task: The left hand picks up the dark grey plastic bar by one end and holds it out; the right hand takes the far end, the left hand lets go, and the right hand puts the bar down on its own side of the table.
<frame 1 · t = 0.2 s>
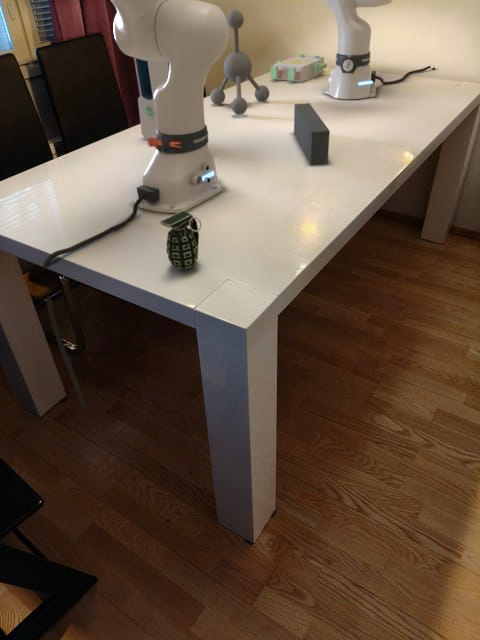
grey green flat case: (297, 76, 212), on the table
grenade: (185, 266, 91), on the table
electronic device: (163, 138, 153), on the table
molecular model: (244, 106, 178), on the table
bar: (309, 147, 140), on the table
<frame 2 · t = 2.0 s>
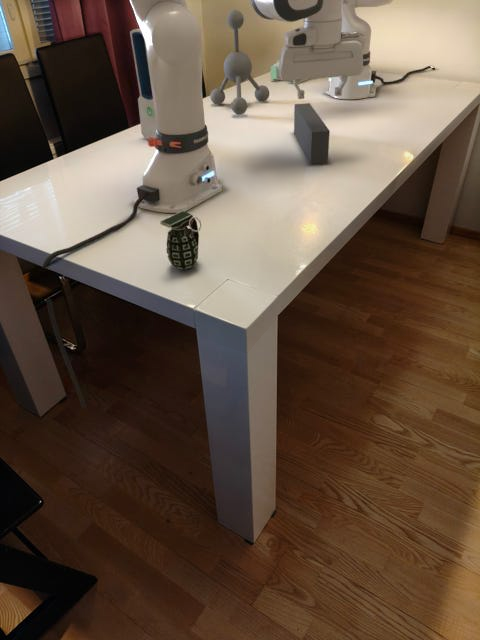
left hand: (319, 97, 122), 16 cm above the table, tool pointing down, fingers open, 8 cm apart
right hand: (329, 4, 141), 32 cm above the table, tool pointing down, fingers open, 8 cm apart
nothing on the table moved.
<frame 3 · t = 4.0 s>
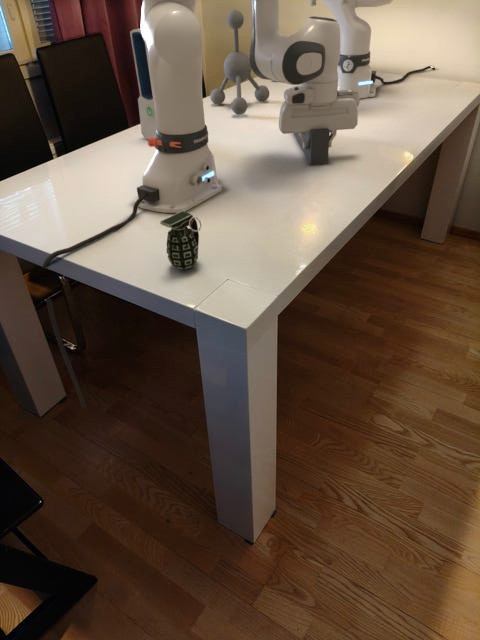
left hand: (316, 147, 130), 3 cm above the table, tool pointing down, fingers closed on bar, 4 cm apart
right hand: (329, 4, 141), 32 cm above the table, tool pointing down, fingers open, 8 cm apart
bar: (309, 147, 140), on the table, touching left hand
everything else where it was.
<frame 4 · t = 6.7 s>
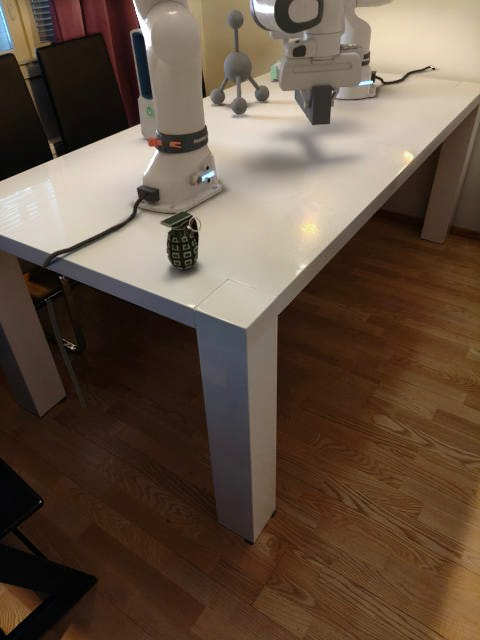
left hand: (318, 107, 124), 13 cm above the table, tool pointing down, fingers closed on bar, 4 cm apart
right hand: (306, 56, 135), 22 cm above the table, tool pointing down, fingers open, 8 cm apart
bar: (310, 110, 134), point 10 cm above the table, touching left hand
everything else where it was.
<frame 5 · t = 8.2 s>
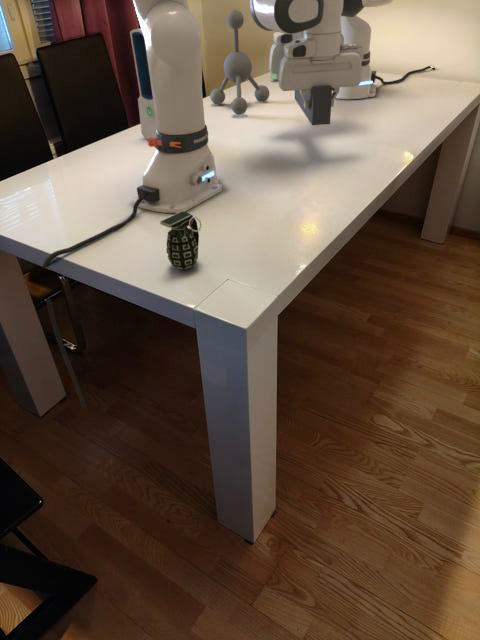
left hand: (318, 107, 124), 13 cm above the table, tool pointing down, fingers closed on bar, 4 cm apart
right hand: (304, 88, 139), 13 cm above the table, tool pointing down, fingers closed on bar, 4 cm apart
bar: (310, 110, 134), point 10 cm above the table, touching left hand, right hand
everything else where it was.
when the left hand's fingers open (13 cm above the table, at t = 9.2 s): bar stays where it is, held by the right hand.
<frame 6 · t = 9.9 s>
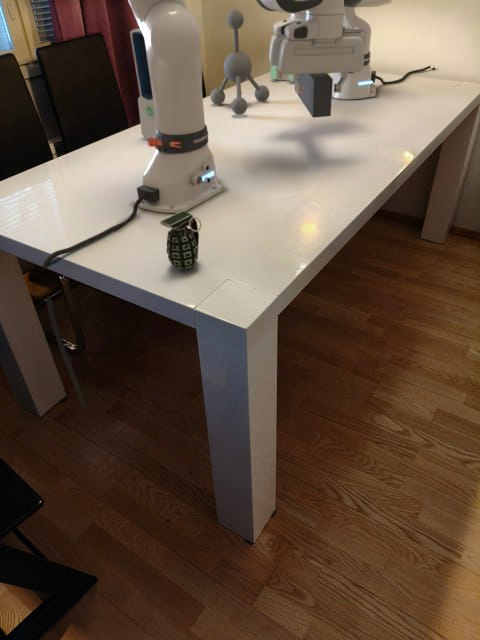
left hand: (318, 92, 120), 17 cm above the table, tool pointing down, fingers open, 8 cm apart
right hand: (305, 80, 138), 16 cm above the table, tool pointing down, fingers closed on bar, 4 cm apart
bar: (311, 102, 133), point 12 cm above the table, touching right hand
everything else where it was.
when the right hand's fingers open (4 cm above the table, at t = 13.2 s): bar stays where it is, on the table.
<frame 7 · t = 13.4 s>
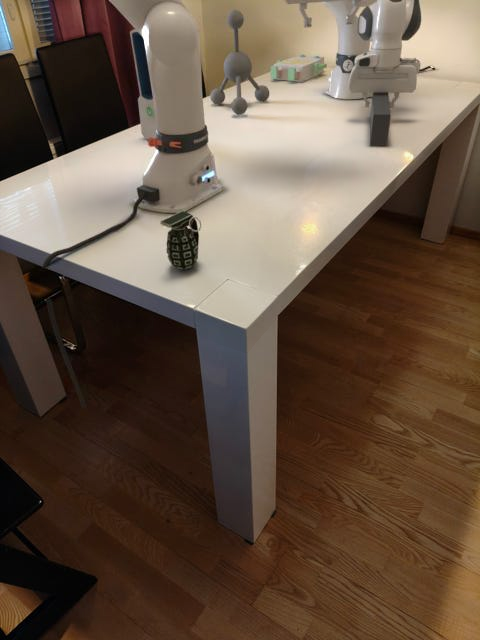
left hand: (328, 25, 108), 32 cm above the table, tool pointing down, fingers open, 8 cm apart
right hand: (379, 107, 153), 4 cm above the table, tool pointing down, fingers open, 6 cm apart
bar: (377, 131, 148), on the table
everything else where it was.
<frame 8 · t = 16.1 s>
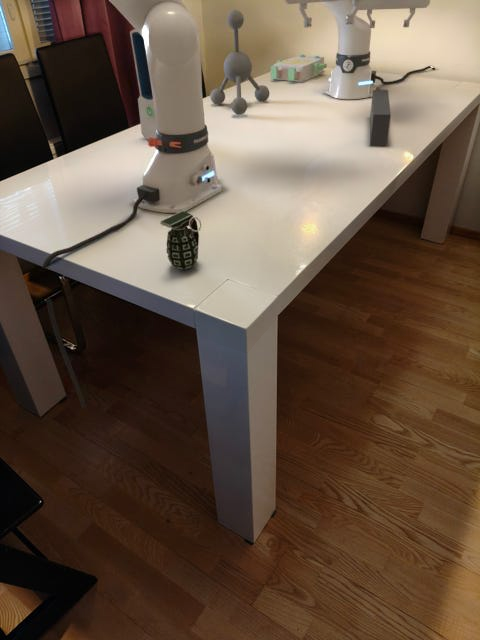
left hand: (328, 25, 108), 32 cm above the table, tool pointing down, fingers open, 8 cm apart
right hand: (388, 27, 140), 26 cm above the table, tool pointing down, fingers open, 8 cm apart
nothing on the table moved.
at the end: bar inside the target area (9.7 cm from its centre), on the table; the left hand is holding nothing; the right hand is holding nothing; bar at rest at the end (0.0 cm/s) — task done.
